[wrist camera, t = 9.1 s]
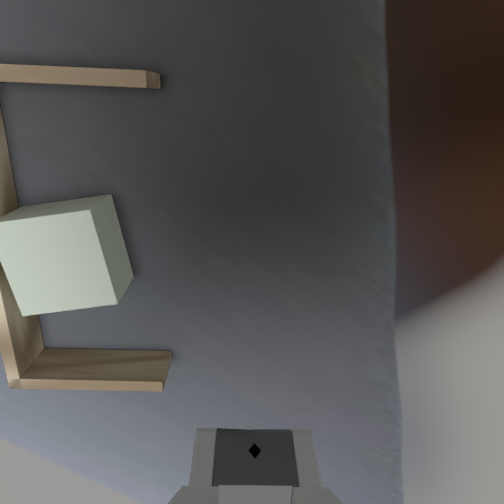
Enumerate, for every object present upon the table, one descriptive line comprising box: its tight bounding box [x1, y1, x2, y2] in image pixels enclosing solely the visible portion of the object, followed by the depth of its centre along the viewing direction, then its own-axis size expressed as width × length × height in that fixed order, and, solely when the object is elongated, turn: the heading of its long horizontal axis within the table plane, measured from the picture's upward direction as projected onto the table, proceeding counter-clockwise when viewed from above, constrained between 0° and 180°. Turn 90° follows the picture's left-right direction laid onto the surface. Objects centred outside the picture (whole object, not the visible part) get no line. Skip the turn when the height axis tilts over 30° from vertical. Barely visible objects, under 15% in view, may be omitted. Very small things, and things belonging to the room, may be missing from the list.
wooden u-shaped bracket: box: [0, 64, 172, 391], centre depth 25 cm, size 20×10×4 cm, turn 178°
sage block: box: [0, 194, 134, 316], centre depth 25 cm, size 6×6×4 cm
